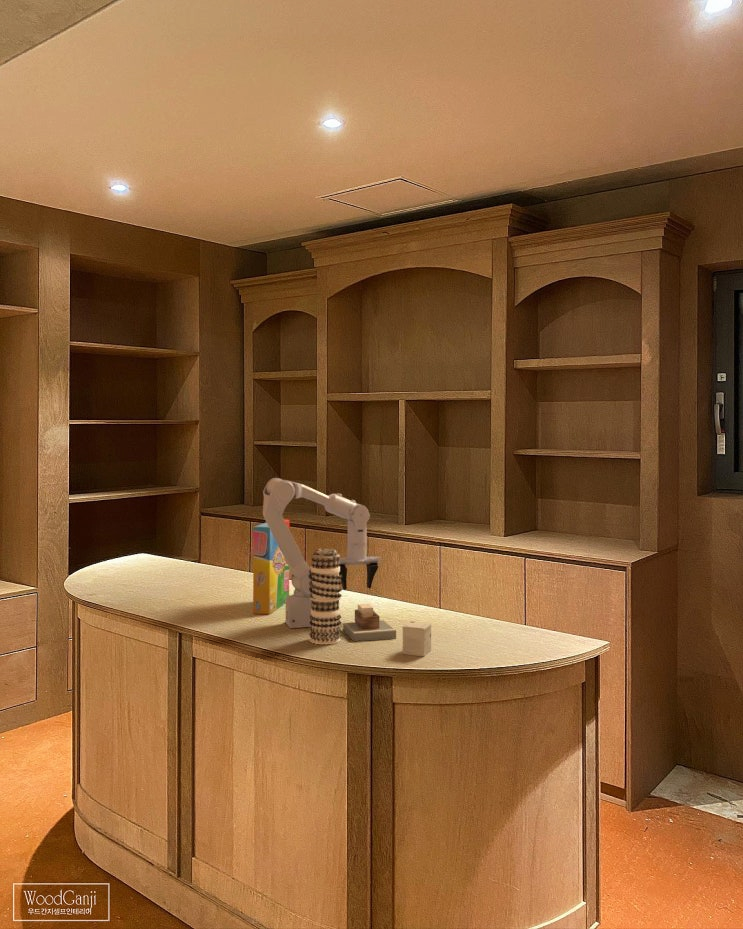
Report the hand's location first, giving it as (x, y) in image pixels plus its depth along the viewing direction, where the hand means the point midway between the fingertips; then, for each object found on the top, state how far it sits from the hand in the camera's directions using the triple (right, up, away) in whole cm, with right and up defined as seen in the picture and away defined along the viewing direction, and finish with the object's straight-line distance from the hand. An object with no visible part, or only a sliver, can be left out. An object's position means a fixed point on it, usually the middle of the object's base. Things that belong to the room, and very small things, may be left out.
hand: (356, 588), depth 243 cm
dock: (+4, -10, -16) cm, 19 cm away
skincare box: (+16, -12, -33) cm, 38 cm away
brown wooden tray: (+3, -8, -13) cm, 16 cm away
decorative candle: (-8, -11, -23) cm, 27 cm away
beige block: (+3, -6, -13) cm, 14 cm away
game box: (-28, -9, +16) cm, 33 cm away
